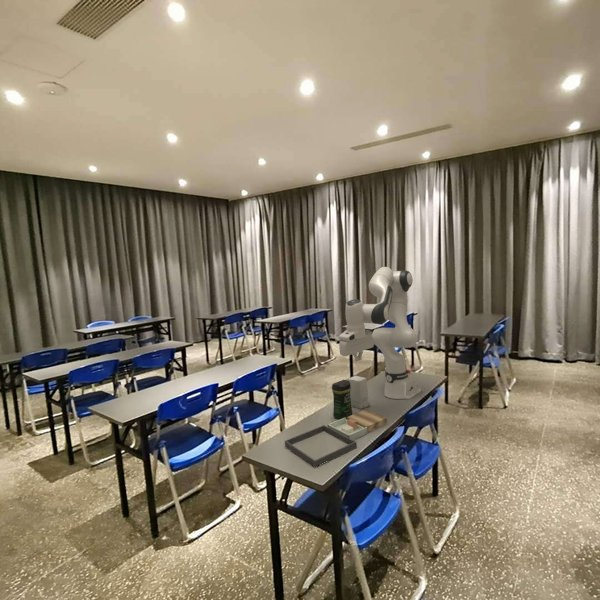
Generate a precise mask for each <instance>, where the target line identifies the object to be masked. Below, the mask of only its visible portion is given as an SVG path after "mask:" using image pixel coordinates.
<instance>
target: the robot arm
mask: <svg viewBox="0 0 600 600" xmlns="http://www.w3.org/2000/svg"><path fill="white" fill-rule="evenodd" d="M412 285H413V275H412V273H411V272H410V271H409V270H394V271H393V270H392V268H390V267H388V266H382V267H380V268H378V269H377V271H376V272H374V274H373V275H372V277H371V279H370V280H369V282H368V290H369V292H370V293H371V295H373V296H374V297H376V298H380V299H381V300H380V302H379V303H363V302H362V300H360V299H358V298H357V299H350V300H348V301H347V302H346V303H345V312H344V313H345V322H346V329H345V330H344V331H343V332H342V333H341V334H339V336H338V339H339V344H338V346H339V349H338V350H339V354H340V355H341V356H343V357H349V356H351V355H352V356H353V357H354V361H355V362H359V361H361V360H362V356H363V354H364V351H366V350H369V349H371V348H374V346H376V347H377V348H378V349H379V350H380V352H381V353H382V356H383V358H384V363H385V364H384V365H385V371H384V375H385V379H384V382H385V383H384V389H383V392H384V393H383V394H384V395H383V396H385V398H386V397H387V398H388V399H394V400H404V399H405V400H411V399H413V398H414V397H416V396H417V395H418V394H420V393H421V392H422V391H423V390H422V389H421V388H420V387H418V386H417V385H418V384H417V381H416V380H415V379H413V378H412V377H410V376H409V375H410V374H411V373H412V371H411V369H406V357H404V355H403V354H402V353H400V352H399V351H397V350H396V349H397V348H398V349H400V348H401V349H409V348H414V347H415V346H416V344H417V342H418V335H417V333H416V331H415V330H414V329H413V328H412V327H411V326H410V325H409V323H408V320H407V319H408V317H407V316H408V315H407V314H408V313H407V312H408V302H409V301H408V291H409V290H410V289H411V286H412ZM387 321H388V322H390V323H391V324H393V325H394V326H395V327H379V328H375V329H374V330H373V331H371V330H370V329H366V327H365V324H372V325H373V324H375V325H381V326H382V325H384V324H385V323H386V322H387Z"/></svg>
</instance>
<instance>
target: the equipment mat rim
mask: <svg viewBox="0 0 600 600" xmlns="http://www.w3.org/2000/svg"><path fill="white" fill-rule="evenodd" d="M322 432H326V433H327V434H329V435H331V436H333V437H336V438H337V439H338V440H340V441H341V442H344V443H346V445H345V446H343V447H340V448H337V450H334V451H332V452H330V453H328V454H326V455H323V456H321V457H319V458H316V459H314V458H312V457H311V456H310V455H308V454H307V453H305V452H304V451H302V450H300V449H299V448H298V447H296V446H294V445H293V444H296V443H299V442H301V441H303V440H305V439H308V438H310V437H313V436H315V435H318V434H319V433H322ZM357 444H358V442H357V441H355V440H352V439H350V438H348V437H346V436H344V435H342V434H340V433H338V432H337V431H335V430H333V429H331V428H329V427H328V425H324V424H323V425H321V426H318V427H315V428H313V429H311V430H309V431H306V432H303V433H301V434H299V435H296V436H293V437H291V438H288V439H286V440H284V447H285V448H287V449H288V450H289V451H291V452H293V453H294V454H295V455H297V456H298V457H300V458H301V459H303V460H304V461H305V462H307V463H308V464H309V465H311V466H312V465H313V466H312V467H314V468H317V467H319V466H321V465H320V464H322V463H324V462H326V461H328V460H330V461H332V460H334V459H336V458H338V457H339V456H340V457H341V456H342V455H345V454H347V453H349V452H350V451H353V450H354V449H357V447H358V445H357ZM337 456H338V457H337ZM335 457H336V458H335ZM333 458H334V459H333ZM331 459H332V460H331ZM328 462H329V461H328ZM326 463H327V462H326ZM324 464H325V463H324ZM318 465H319V466H318ZM322 465H323V464H322ZM316 466H317V467H316Z"/></svg>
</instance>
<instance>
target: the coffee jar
mask: <svg viewBox="0 0 600 600" xmlns="http://www.w3.org/2000/svg"><path fill="white" fill-rule="evenodd" d="M350 390H351V386H350V382H349V381H348V379H342V380H340V381H337V382H334V383H332V385H331V392H332V394H333V410H332V411H333V418H335V419H336V420H340V419H342V418H346V417H348V416H351V415H353V408H352V407H353V406H351V399H350ZM346 420H347V418H346Z"/></svg>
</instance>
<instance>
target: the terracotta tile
mask: <svg viewBox="0 0 600 600" xmlns="http://www.w3.org/2000/svg"><path fill="white" fill-rule="evenodd" d="M346 420H347V419H346ZM347 423H348V425H349V426H351V427H353V429H354V431H355V430H357V424H356V421H354V420H352V419H349V420H347Z"/></svg>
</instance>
